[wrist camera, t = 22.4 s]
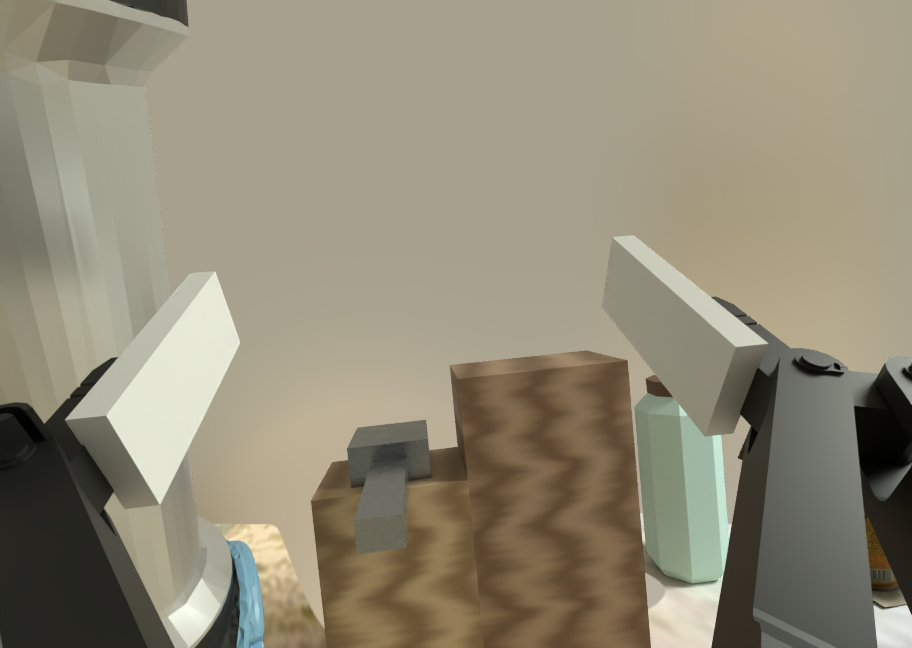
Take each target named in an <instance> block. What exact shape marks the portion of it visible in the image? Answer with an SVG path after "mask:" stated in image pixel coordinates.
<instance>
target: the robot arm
mask: <svg viewBox="0 0 912 648" xmlns="http://www.w3.org/2000/svg"><path fill="white" fill-rule="evenodd" d="M188 39H189V27H188V16H187V3H186V0H0V648H264V643H263V641H262V640H263V636H264V612H263V603H262V595H261V588H260V582H259V577H258V572H257V568H256V565H255V560H254V557H253V555H252V552H251V550H250V548H249V547H248V545H247V544H245V543H244V542H242V541H227V540H225V538H224V536H223V535H222V533H221V532H220V530H219V529H218V528H217V527H215V526H214V525H213V524H212V523H211V522H209V521H207V520H206V519H204V518H202V517H200V516H198V515H197V510H196V502H195V494H194V486H193V478H192V469H191V462H190V454H189V445H190V443H191V441H192V439H193V437H194V435H195V433H196V431H197V429H198V427H199V425H200V423H201V421H202V419H203V417H204V415H205V413H206V411H207V409H208V407H209V405H210V403H211V401H212V399H213V397H214V395H215V393H216V391H217V389H218V387H219V385H220V383H221V381H222V379H223V377H224V374H225V373H226V371H227V369H228V366H229V364H230V362H231V360H232V358H233V356H234V354H235V352H236V350H237V348H238V346H239V344H240V340H239V338H238V335H237V332H236V329H235V326H234V323H233V321H232V318H231V315H230V312H229V309H228V306H227V303H226V301H225V298H224V295H223V292H222V289H221V286H220V284H219V281H218V278H217V275H216V272H215V271H213V272H201V273H190V275H189V276H188V277H187V278H186V279H185V280H184V281H183V282H182V284H181V285H180V286H179V287H178V288H177V289H176V291H175V292H174V293H173V294H172V295H170V287H169V278H168V270H167V262H166V253H165V245H164V237H163V228H162V221H161V212H160V204H159V195H158V186H157V178H156V170H155V162H154V154H153V145H152V137H151V128H150V120H149V112H148V103H147V95H146V86H147V82H148V80H149V77H150V75H151V73H152V72H153V71H154V70H155V69H156V68H157V67H158V66H159V65H160V64H161V63H162V62H163V61H164V60H165V59H167V58H168V57H169V56H170V55H171V54H172V53H173V52H174V51H176V49H178V48H179V47H180V46H181V45H182V44H183V43H184V42H185V41H187V40H188ZM602 308H603V309H604V310H605V312H606V313H607V314H608V315H609V317H610V318H611V319H612V320H613V322H614V323H615V324H616V325H617V327H618V328H619V329H620V330H621V332H622V333H623V334H624V336H625V337H626V338H627V339H628V341H629V342H630V343H631V344H632V346H633V347H634V348H635V349H636V351H637V352H638V353H639V355H640V356H641V357H642V358H643V360H644V361H645V362H646V363H647V365H648V366H649V367H650V368H651V370H652V371H653V372H654V373H655V375H656V376H657V377H658V379H659V380H660V381H661V382H662V384H663V385H664V386H665V387H666V389H667V390H668V391H669V392H670V394H671V395H672V396H673V397H674V399H675V400H676V401H677V402H678V404H679V405H680V406H681V408H682V409H683V410H684V411H685V413H686V414H687V415H688V416H689V418H690V419H691V420H692V421H693V423H694V424H695V425H696V426H697V428H698V429H699V430H700V431H701V433H702V434H703V435H704V437H707V436H715V435H723V434H731V433H734V430H735V428H736V425H737V423H738V420H739V418H740V415H742V416H743V418H744V419H745V420H746V421H747V422H748V423H749V424H750V425H751V427H750V430H749V432H748V435H747V437H746V439H745V442H744V444H743V447H742V449H741V451H740V454H739V456H738V458H739V459H742V460H743V462H742V467H741V473H740V479H739V485H738V491H737V497H736V503H735V510H734V515H733V521H732V527H731V533H730V539H729V545H728V551H727V557H726V563H725V569H724V575H723V581H722V587H721V593H720V599H719V605H718V611H717V617H716V623H715V629H714V635H713V641H712V647H711V648H877V639H876V629H875V619H874V609H873V598H872V588H871V578H870V568H869V557H868V547H867V537H866V527H865V517H864V509H865V512H866V514H867V516H868V518H869V521H870V523H871V525H872V527H873V529H874V532H875V534H876V536H877V538H878V541H879V543H880V545H881V547H882V550H883V552H884V554H885V556H886V559H887V561H888V563H889V565H890V567H891V570H892V572H893V574H894V576H895V579H896V581H897V583H898V585H899V588H900V590H901V592H902V594H903V597H904V599H905V601H906V603H907V605H908V608H909V610H910V612H911V614H912V357H894V358H889V359H888V360H887V361H886V362H885V364H884V366H883V367H882V369H881V371H880V373H879V374H873V373H863V372H852V371H849V370H848V368H847V367H846V366H845V365H844V364H843V363H842V362H840V361H839V360H837V359H835V358H833V357H831V356H829V355H827V354H824V353H821V352H818V351H815V350H810V349H803V348H796V349H795V348H794V349H791V348H789V347H788V346H787V345H786V344H784V343H783V342H782V341H780V340H779V339H778V338H777V337H775V336H774V335H772V334H771V333H770V332H769V331H767V330H766V329H765V328H763V327H762V326H761V325H760V324H759V325H757V322H756V321H754V320H753V319H752V318H751V317H749V316H746V314H745V313H744V312H743V311H741V310H740V309H739V308H737V307H736V306H735V305H734V304H731V303H729V302H727V301H724V300H722V299H720V298H718V297H710V296H709V295H707V294H706V293H705V292H704V291H702V290H701V289H700V288H699V287H697V286H696V285H695V284H694V283H692V282H691V281H690V280H689V279H687V278H686V277H685V276H684V275H682V274H681V273H680V272H679V271H677V270H676V269H675V268H674V267H673V266H671V265H670V264H669V263H668V262H666V261H665V260H664V259H662V258H661V257H660V256H659V255H657V254H656V253H655V252H654V251H653V250H651V249H650V248H649V247H648V246H646V245H645V244H644V243H643V242H641V241H640V240H639V239H638V238H636V237H635V236H634V235H633V236H621V237H612V242H611V249H610V256H609V262H608V269H607V276H606V282H605V289H604V296H603V302H602Z"/></svg>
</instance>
